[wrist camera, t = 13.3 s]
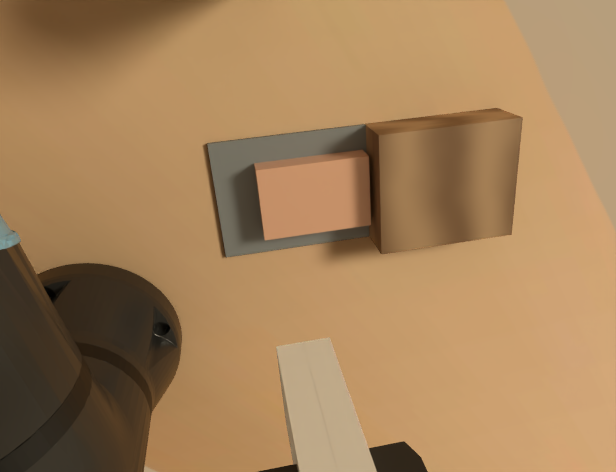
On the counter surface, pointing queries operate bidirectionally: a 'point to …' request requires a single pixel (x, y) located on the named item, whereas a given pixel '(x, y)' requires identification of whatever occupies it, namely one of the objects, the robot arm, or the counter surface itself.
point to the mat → (243, 188)
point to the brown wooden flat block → (442, 178)
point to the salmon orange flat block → (313, 194)
